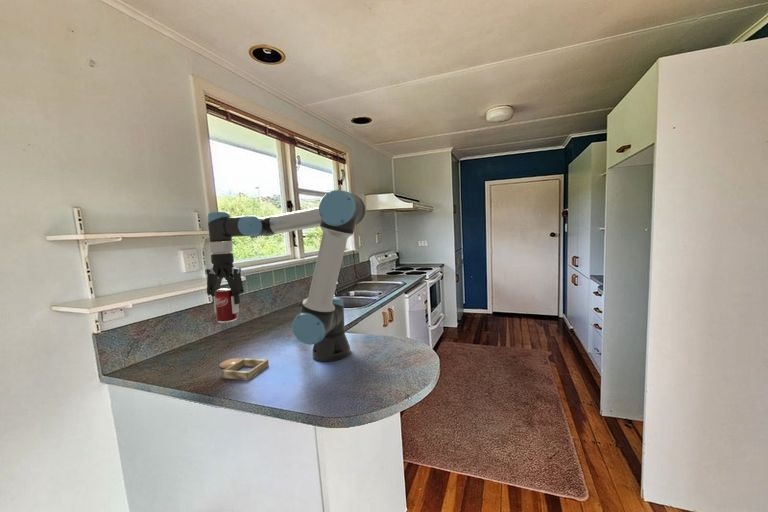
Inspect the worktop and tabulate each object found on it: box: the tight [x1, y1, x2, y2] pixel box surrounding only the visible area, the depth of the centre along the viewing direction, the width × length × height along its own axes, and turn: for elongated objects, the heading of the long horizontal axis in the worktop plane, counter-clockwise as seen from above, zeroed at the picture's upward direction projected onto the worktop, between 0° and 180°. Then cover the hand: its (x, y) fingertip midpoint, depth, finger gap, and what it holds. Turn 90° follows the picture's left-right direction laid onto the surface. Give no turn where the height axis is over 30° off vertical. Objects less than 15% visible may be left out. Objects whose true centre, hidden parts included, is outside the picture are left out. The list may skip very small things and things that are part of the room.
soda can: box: [214, 287, 239, 324], centre depth 116 cm, size 7×7×12 cm
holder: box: [221, 357, 270, 381], centre depth 110 cm, size 11×11×2 cm
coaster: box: [219, 357, 242, 369], centre depth 118 cm, size 8×8×1 cm
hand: (226, 312), depth 117 cm, fingers closed on soda can, 7 cm apart
